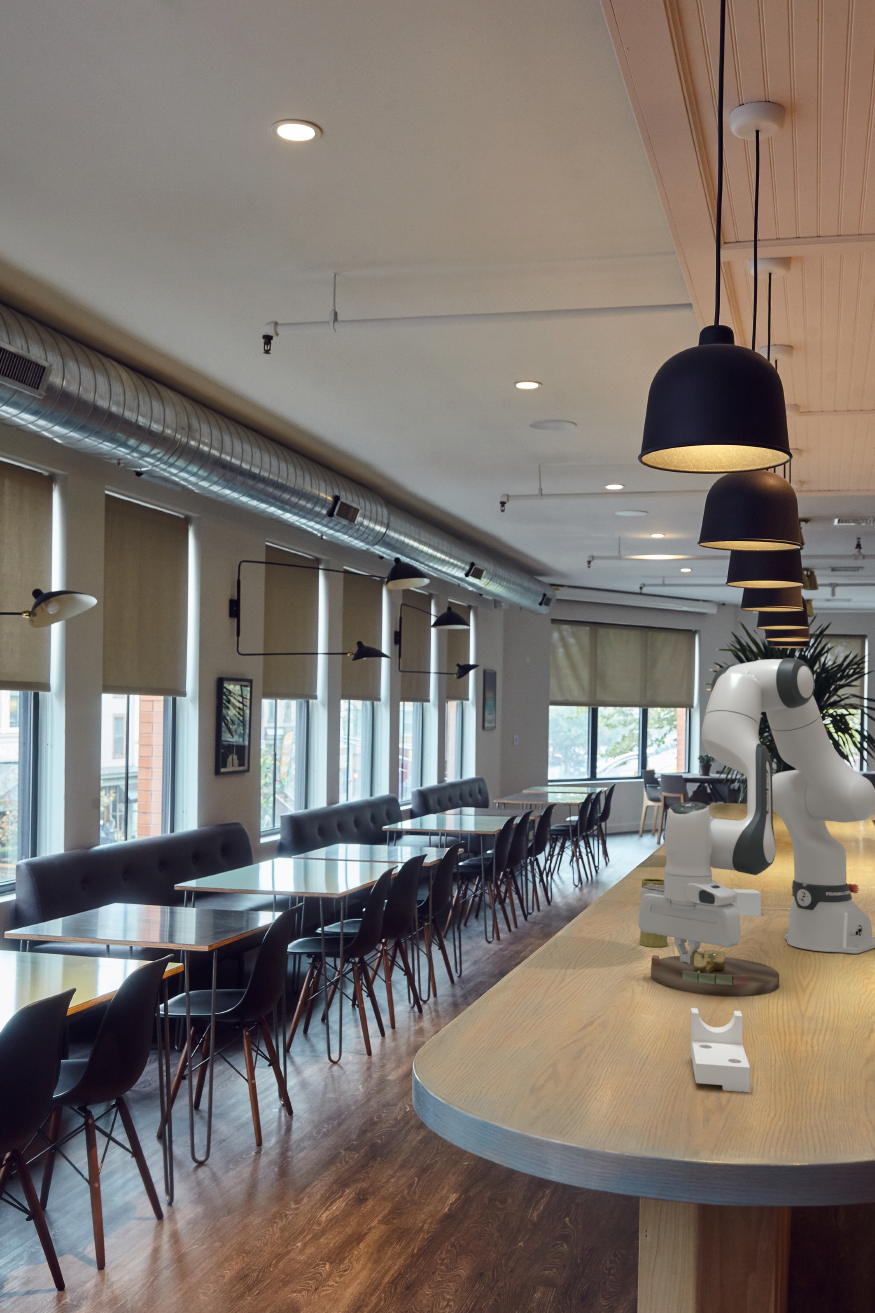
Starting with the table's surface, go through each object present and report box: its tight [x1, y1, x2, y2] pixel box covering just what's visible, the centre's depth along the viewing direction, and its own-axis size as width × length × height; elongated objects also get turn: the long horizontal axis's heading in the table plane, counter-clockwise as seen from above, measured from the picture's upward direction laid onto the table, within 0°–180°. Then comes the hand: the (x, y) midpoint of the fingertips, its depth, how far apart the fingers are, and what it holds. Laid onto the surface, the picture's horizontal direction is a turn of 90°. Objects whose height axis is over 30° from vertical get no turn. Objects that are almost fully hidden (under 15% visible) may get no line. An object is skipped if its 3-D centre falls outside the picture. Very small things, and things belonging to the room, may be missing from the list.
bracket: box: [690, 1007, 751, 1093], centre depth 149 cm, size 13×7×8 cm, turn 169°
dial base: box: [650, 954, 780, 997], centre depth 203 cm, size 24×24×4 cm
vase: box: [639, 877, 668, 948], centre depth 235 cm, size 6×6×14 cm
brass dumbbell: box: [693, 949, 726, 973], centre depth 200 cm, size 12×4×4 cm, turn 148°
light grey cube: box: [731, 888, 762, 917], centre depth 274 cm, size 6×6×6 cm
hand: (687, 963), depth 198 cm, fingers closed
